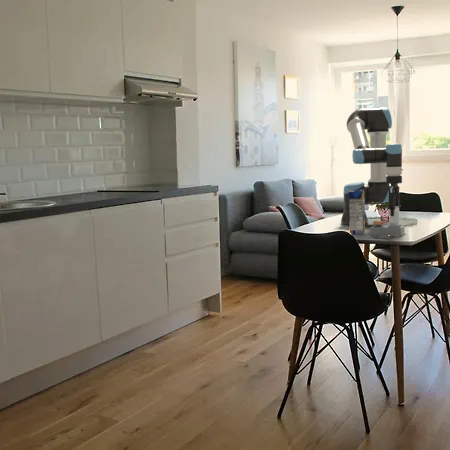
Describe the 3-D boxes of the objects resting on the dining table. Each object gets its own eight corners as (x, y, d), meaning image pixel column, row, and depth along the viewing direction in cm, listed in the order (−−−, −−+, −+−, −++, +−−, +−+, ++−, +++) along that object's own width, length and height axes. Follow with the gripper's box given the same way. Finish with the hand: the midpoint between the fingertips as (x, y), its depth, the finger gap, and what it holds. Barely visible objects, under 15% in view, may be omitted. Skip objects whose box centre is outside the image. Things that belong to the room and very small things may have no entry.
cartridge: (388, 235, 297) (388, 207, 295) (390, 233, 301) (390, 206, 299) (398, 235, 294) (398, 207, 293) (400, 233, 298) (399, 206, 297)
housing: (370, 235, 299) (370, 227, 298) (374, 232, 307) (374, 224, 306) (400, 236, 292) (400, 228, 291) (404, 233, 300) (404, 225, 299)
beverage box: (349, 234, 303) (348, 191, 300) (351, 231, 313) (350, 189, 311) (363, 234, 301) (362, 191, 298) (365, 231, 311) (364, 189, 308)
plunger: (372, 232, 300) (372, 221, 299) (374, 231, 304) (374, 220, 304) (382, 233, 298) (381, 222, 297) (384, 231, 302) (384, 220, 301)
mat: (373, 238, 288) (373, 237, 288) (376, 236, 294) (376, 235, 294) (390, 239, 284) (390, 237, 284) (393, 236, 290) (393, 235, 290)
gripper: (397, 176, 283) (397, 224, 286) (405, 173, 301) (406, 218, 304) (381, 176, 287) (382, 224, 290) (390, 174, 304) (391, 218, 307)
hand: (394, 221), depth 297 cm, fingers open, 7 cm apart
